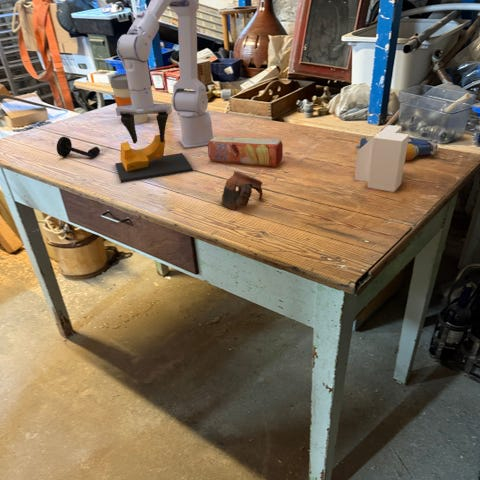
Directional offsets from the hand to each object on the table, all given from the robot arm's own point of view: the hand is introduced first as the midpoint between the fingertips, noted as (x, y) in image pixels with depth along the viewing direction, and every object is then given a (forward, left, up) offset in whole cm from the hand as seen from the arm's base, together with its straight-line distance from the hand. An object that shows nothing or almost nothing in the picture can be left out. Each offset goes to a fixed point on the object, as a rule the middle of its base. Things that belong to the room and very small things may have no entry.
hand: (149, 141), depth 130 cm
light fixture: (+18, -23, -8) cm, 30 cm away
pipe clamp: (+2, -2, -6) cm, 6 cm away
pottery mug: (-16, +33, -8) cm, 38 cm away
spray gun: (-66, +19, -8) cm, 69 cm away
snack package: (-25, +7, -8) cm, 27 cm away
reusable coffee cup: (-2, -53, -8) cm, 53 cm away
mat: (0, 0, -8) cm, 8 cm away
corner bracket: (-52, +34, -8) cm, 63 cm away
